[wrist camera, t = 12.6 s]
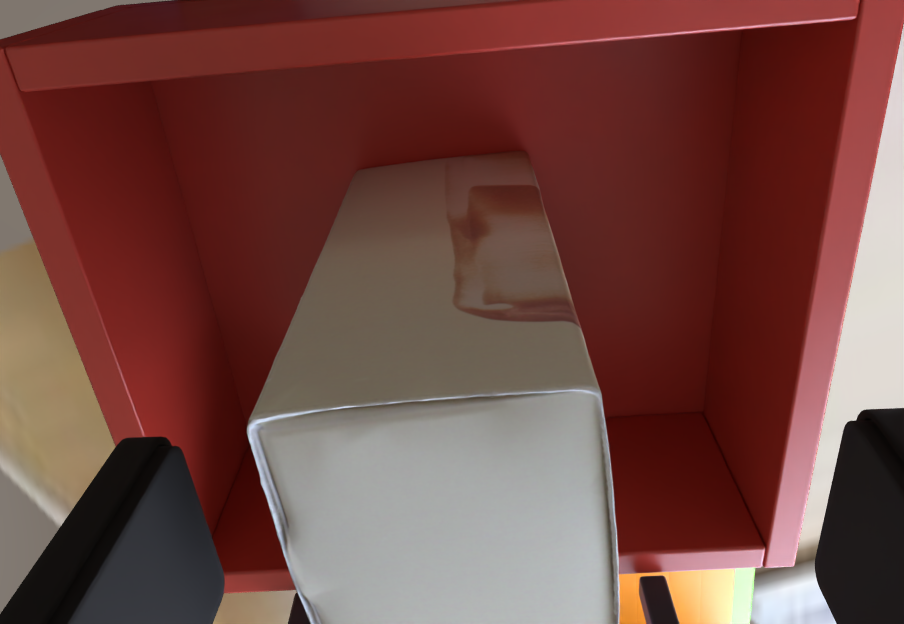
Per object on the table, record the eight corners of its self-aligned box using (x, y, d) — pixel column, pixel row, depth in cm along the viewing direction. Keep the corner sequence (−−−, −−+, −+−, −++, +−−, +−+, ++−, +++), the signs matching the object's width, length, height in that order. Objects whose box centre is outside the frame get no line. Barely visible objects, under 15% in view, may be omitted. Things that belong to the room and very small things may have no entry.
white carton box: (552, 327, 19) (625, 681, 11) (388, 345, 20) (327, 701, 11) (536, 134, 17) (614, 386, 8) (349, 158, 17) (228, 426, 8)
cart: (743, -108, 17) (1281, -131, 6) (696, 399, 24) (898, 830, 13) (136, -49, 18) (-419, 31, 7) (262, 425, 25) (97, 853, 14)
